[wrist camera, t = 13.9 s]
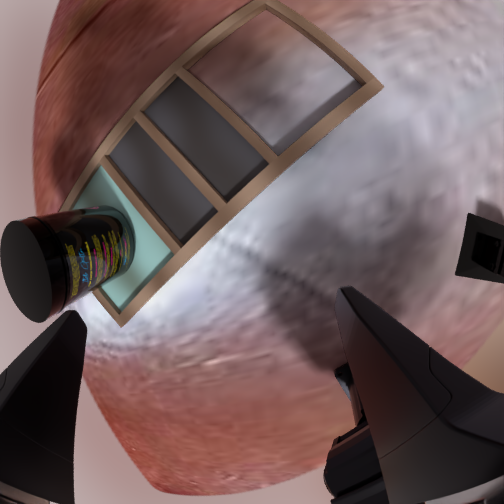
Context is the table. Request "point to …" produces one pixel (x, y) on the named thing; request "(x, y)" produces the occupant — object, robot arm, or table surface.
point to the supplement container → (64, 257)
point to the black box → (482, 250)
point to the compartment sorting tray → (192, 162)
